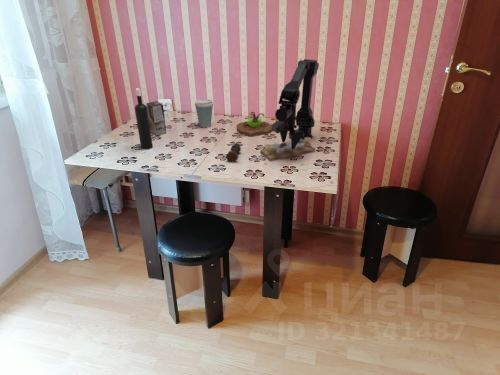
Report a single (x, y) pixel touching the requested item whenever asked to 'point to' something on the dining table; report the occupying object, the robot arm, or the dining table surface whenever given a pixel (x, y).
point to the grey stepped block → (286, 147)
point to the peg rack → (273, 156)
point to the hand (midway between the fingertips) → (288, 145)
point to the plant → (254, 126)
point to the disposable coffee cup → (204, 112)
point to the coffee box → (156, 117)
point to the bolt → (233, 153)
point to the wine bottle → (143, 123)
